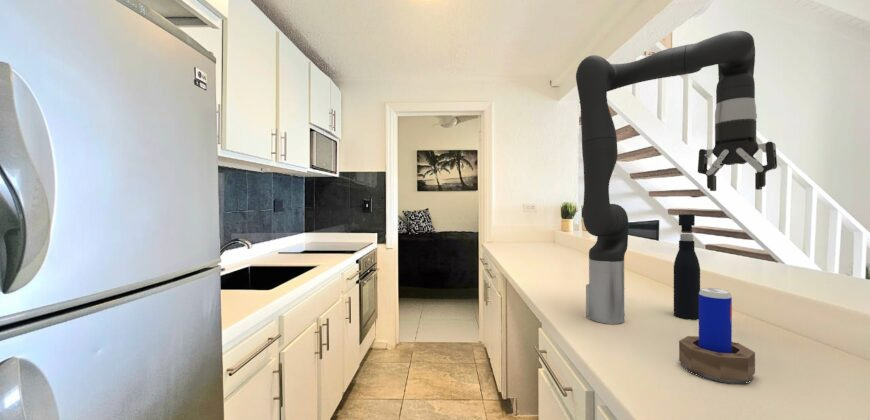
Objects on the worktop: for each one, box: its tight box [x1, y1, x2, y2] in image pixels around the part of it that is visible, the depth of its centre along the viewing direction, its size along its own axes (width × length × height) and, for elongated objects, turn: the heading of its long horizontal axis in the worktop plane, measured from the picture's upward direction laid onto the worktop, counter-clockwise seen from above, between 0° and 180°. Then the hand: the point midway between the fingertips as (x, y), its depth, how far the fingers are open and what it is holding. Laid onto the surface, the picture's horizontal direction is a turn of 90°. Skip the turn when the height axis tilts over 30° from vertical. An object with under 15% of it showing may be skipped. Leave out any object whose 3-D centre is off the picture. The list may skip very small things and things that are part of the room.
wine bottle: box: [673, 213, 701, 321], centre depth 107 cm, size 6×6×30 cm
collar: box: [678, 335, 756, 384], centre depth 72 cm, size 11×11×5 cm
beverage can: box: [698, 287, 733, 353], centre depth 72 cm, size 5×5×15 cm
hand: (735, 190), depth 86 cm, fingers open, 8 cm apart
